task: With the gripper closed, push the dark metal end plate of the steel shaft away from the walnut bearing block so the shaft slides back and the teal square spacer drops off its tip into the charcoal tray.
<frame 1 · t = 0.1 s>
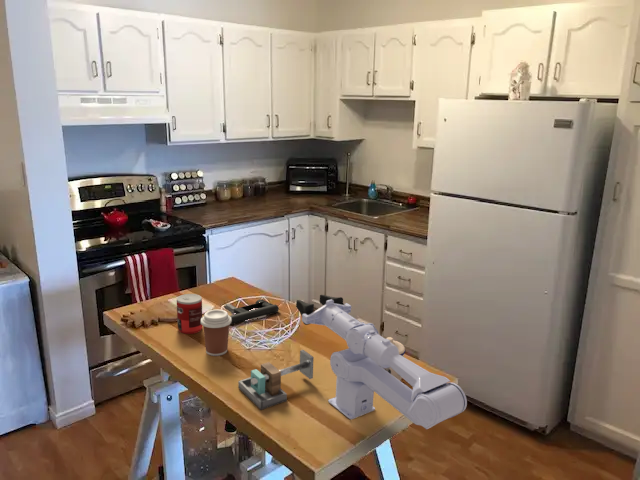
hand: (309, 300, 143), 22 cm above the kitchen island, tool horizontal, fingers open, 7 cm apart
bearing block: (270, 379, 137), in the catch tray
door handle: (245, 314, 187), on the kitchen island
coffee cup: (216, 351, 159), on the kitchen island
teacup with lid: (390, 378, 147), on the kitchen island
spacer: (257, 389, 136), point 2 cm above the kitchen island, touching shaft
canned food: (190, 329, 172), on the kitchen island
shaft: (281, 372, 139), point 5 cm above the kitchen island, slide at 0.0 cm, touching spacer
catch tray: (269, 391, 138), on the kitchen island
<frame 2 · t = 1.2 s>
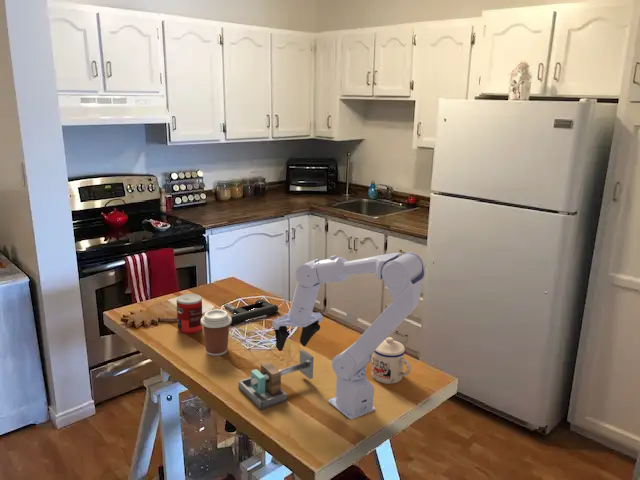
hand: (290, 346, 141), 10 cm above the kitchen island, tool pointing down, fingers open, 7 cm apart
nothing on the kitchen island moved.
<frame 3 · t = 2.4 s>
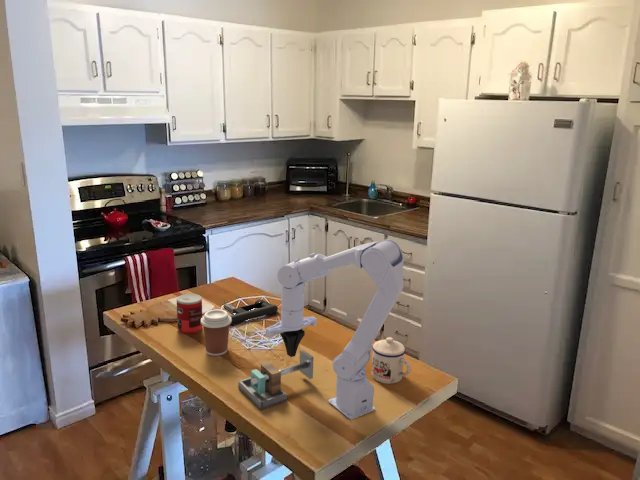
hand: (291, 355, 140), 9 cm above the kitchen island, tool pointing down, fingers closed
nothing on the kitchen island moved.
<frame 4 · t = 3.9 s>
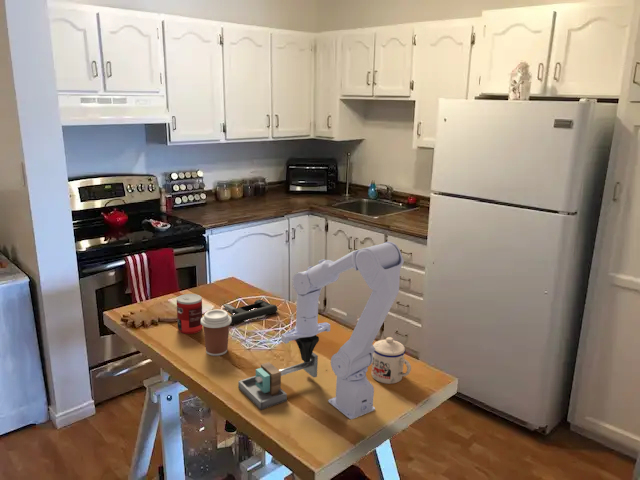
hand: (305, 360, 143), 6 cm above the kitchen island, tool pointing down, fingers closed
spacer: (262, 388, 137), point 2 cm above the kitchen island, touching shaft
shaft: (285, 370, 140), point 5 cm above the kitchen island, slide at 1.4 cm, touching gripper, spacer
everything else where it was.
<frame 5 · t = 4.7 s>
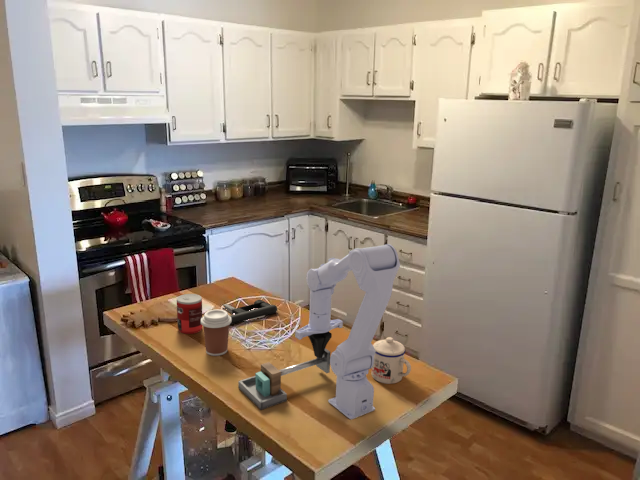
hand: (318, 356, 145), 6 cm above the kitchen island, tool pointing down, fingers closed
spacer: (262, 391, 137), point 1 cm above the kitchen island, touching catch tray
shaft: (298, 366, 142), point 5 cm above the kitchen island, slide at 5.7 cm, touching gripper
everything else where it was.
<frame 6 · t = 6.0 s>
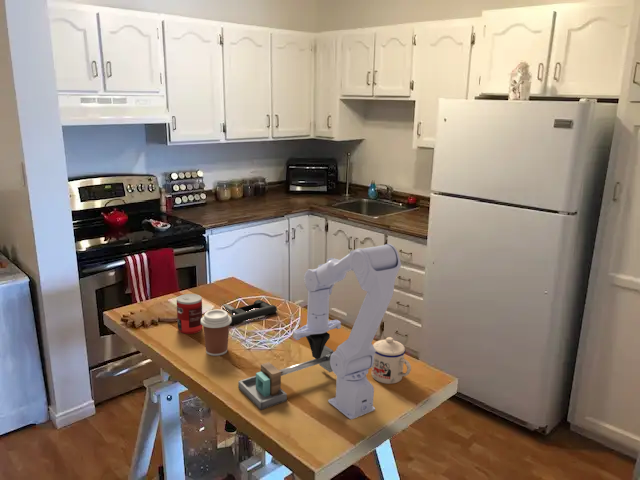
hand: (316, 357, 145), 6 cm above the kitchen island, tool pointing down, fingers closed
shaft: (302, 365, 143), point 5 cm above the kitchen island, slide at 6.7 cm
everything else where it was.
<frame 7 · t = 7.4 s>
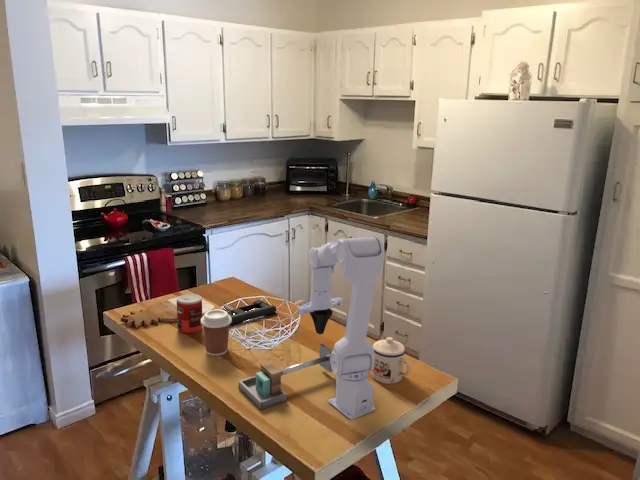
hand: (319, 332, 152), 9 cm above the kitchen island, tool pointing down, fingers closed
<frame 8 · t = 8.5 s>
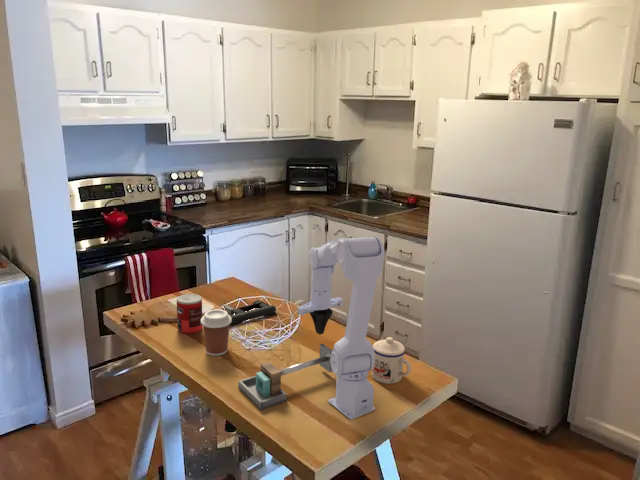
hand: (319, 332, 152), 9 cm above the kitchen island, tool pointing down, fingers closed
at the end: shaft slide at 6.7 cm; spacer touching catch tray; spacer inside the target area on the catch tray (1.0 cm from its centre), point 0.6 cm above the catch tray's base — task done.
